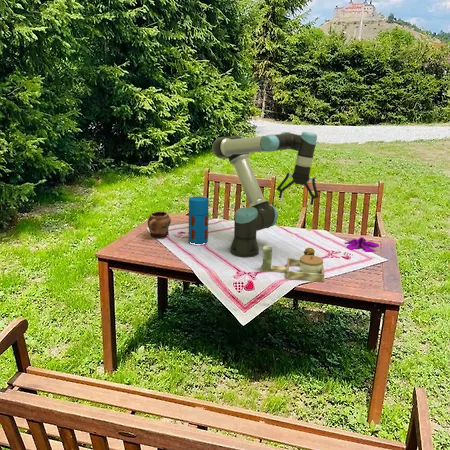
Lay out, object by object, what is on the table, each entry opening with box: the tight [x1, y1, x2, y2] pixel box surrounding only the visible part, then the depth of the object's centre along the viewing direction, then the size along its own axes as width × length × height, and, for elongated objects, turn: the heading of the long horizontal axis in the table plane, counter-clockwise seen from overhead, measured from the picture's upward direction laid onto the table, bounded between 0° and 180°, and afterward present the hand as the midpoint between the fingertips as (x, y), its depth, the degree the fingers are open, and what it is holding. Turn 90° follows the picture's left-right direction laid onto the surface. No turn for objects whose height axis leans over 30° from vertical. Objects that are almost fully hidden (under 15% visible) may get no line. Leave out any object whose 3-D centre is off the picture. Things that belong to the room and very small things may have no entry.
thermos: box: [188, 196, 210, 244], centre depth 239 cm, size 11×11×25 cm
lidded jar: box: [299, 255, 324, 274], centre depth 204 cm, size 11×11×9 cm
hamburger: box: [299, 247, 318, 257], centre depth 226 cm, size 12×12×6 cm
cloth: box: [344, 236, 381, 253], centre depth 244 cm, size 22×19×6 cm
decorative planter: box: [147, 211, 172, 239], centre depth 247 cm, size 20×12×14 cm, turn 164°
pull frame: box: [260, 245, 325, 283], centre depth 205 cm, size 29×17×11 cm, turn 80°
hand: (294, 208), depth 213 cm, fingers open, 13 cm apart
